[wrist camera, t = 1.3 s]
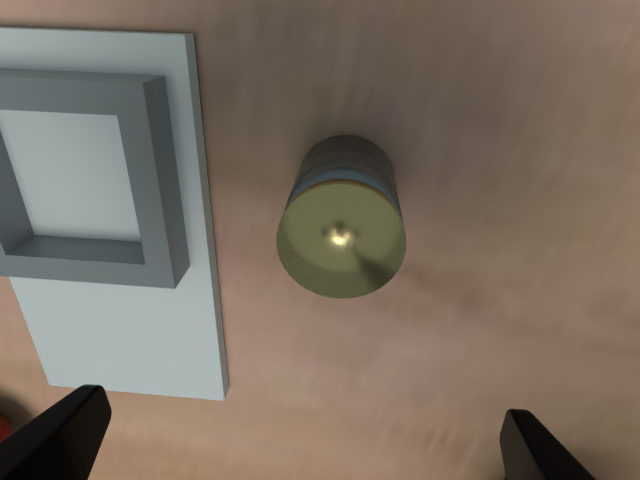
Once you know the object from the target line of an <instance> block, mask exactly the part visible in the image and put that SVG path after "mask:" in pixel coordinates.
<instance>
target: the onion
mask: <svg viewBox="0 0 640 480" xmlns="http://www.w3.org/2000/svg"><path fill="white" fill-rule="evenodd" d="M11 434H12V430H11V423H10V421H9V420H8V418H7V417H5V416H2V415H0V442H1V441H2V440H4V439H5V438H7V437H8V436H10V435H11Z"/></svg>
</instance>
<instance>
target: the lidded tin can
mask: <svg viewBox="0 0 640 480" xmlns="http://www.w3.org/2000/svg"><path fill="white" fill-rule="evenodd" d="M276 242H277V250H278V254H279V257H280V260H281V262H282V264H283V266H284V268H285V269H286V271H287V272H288V273H289V275H290V276H291V277H292V278H293V279H294V280H295V281H296V282H297V283H299V284H300V285H301V286H303V287H304V288H306V289H308V290H310V291H312V292H314V293H316V294H319V295H322V296H326V297H331V298H354V297H359V296H363V295H366V294H369V293H371V292H373V291H376V290H377V289H379V288H381V287H382V286H384V285H385V284H386V283H387V282H388V281H389V280H390V279H391V278H392V277H393V276H394V275H395V274H396V272H397V271H398V269H399V268H400V266H401V264H402V261H403V259H404V255H405V251H406V235H405V230H404V225H403V219H402V214H401V209H400V204H399V199H398V194H397V189H396V183H395V178H394V173H393V169H392V166H391V163H390V161H389V159H388V157H387V156H386V155H385V153H384V152H383V151H382V150H381V149H380V148H379V147H378V146H377V145H375V144H374V143H372V142H371V141H369V140H367V139H364V138H362V137H358V136H352V135H340V136H335V137H331V138H328V139H326V140H324V141H322V142H320V143H319V144H317V145H316V146H315V147H313V148H312V149H311V150H310V151H309V153H308V154H307V155H306V157H305V158H304V160H303V162H302V165H301V167H300V170H299V173H298V175H297V178H296V181H295V183H294V186H293V189H292V191H291V194H290V197H289V200H288V202H287V205H286V208H285V210H284V213H283V216H282V218H281V221H280V224H279V226H278V231H277V241H276Z"/></svg>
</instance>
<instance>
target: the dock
mask: <svg viewBox="0 0 640 480" xmlns="http://www.w3.org/2000/svg"><path fill="white" fill-rule="evenodd" d="M0 276H7V277H9V278H10V281H11V283H12V286H13V289H14V291H15V294H16V297H17V299H18V302H19V305H20V307H21V310H22V313H23V315H24V318H25V321H26V323H27V326H28V329H29V331H30V334H31V337H32V339H33V342H34V345H35V347H36V350H37V353H38V355H39V358H40V361H41V363H42V366H43V369H44V371H45V374H46V377H47V379H48V382H49V385H53V386H64V387H75V388H79V387H80V386H82V385H85V384H92V385H101V386H102V387H103V388H104V389H105V390H109V391H121V392H132V393H143V394H154V395H166V396H177V397H188V398H199V399H211V400H222V401H224V400H225V398H226V395H227V392H228V389H229V384H228V374H227V364H226V354H225V344H224V334H223V324H222V314H221V304H220V294H219V284H218V274H217V264H216V254H215V244H214V234H213V224H212V214H211V204H210V194H209V184H208V174H207V164H206V154H205V144H204V134H203V124H202V114H201V104H200V94H199V84H198V74H197V64H196V54H195V44H194V34H189V33H163V32H137V31H110V30H84V29H57V28H31V27H4V26H0Z"/></svg>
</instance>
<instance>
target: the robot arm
mask: <svg viewBox="0 0 640 480" xmlns="http://www.w3.org/2000/svg"><path fill="white" fill-rule="evenodd" d="M111 413H112V412H111V407H110V404H109V401H108V398H107V395H106V392H105V389H104V388H103V387H102V386H101V385H92V384H85V385H82V386H80V387H79V388H77V389H76V390H74V391H73V392H71V393H70V394H69V395H67V396H66V397H64V398H63V399H61V400H60V401H58V402H57V403H56V404H54V405H53V406H51V407H50V408H48V409H47V410H46V411H44V412H43V413H41V414H40V415H38V416H37V417H35V418H34V419H33V420H31V421H30V422H28V423H27V424H25V425H24V426H23V427H21V428H20V429H18V430H17V431H15V432H14V433H12V434H11V435H10V436H8V437H7V438H5V439H4V440H2V441H1V442H0V480H88V477H89V475H90V472H91V469H92V467H93V464H94V462H95V459H96V456H97V454H98V451H99V448H100V446H101V443H102V441H103V438H104V435H105V433H106V430H107V428H108V425H109V422H110V419H111ZM500 446H501V452H502V457H503V462H504V467H505V473H506V478H507V479H506V480H596V479H595V478H594V477H593V476H592V475H591V474H590V473H589V472H588V471H587V470H586V469H585V468H584V467H583V466H582V465H581V464H580V463H579V462H578V461H577V459H576V458H575V457H574V456H573V455H572V454H571V453H570V452H569V451H568V450H567V449H566V448H565V447H564V446H563V445H562V444H561V443H560V442H559V441H558V440H557V439H556V438H555V437H554V436H553V435H552V434H551V433H550V432H549V431H548V430H547V428H546V427H545V426H544V425H543V424H542V423H541V422H540V421H539V420H538V419H537V418H536V417H535V416H534V415H533V414H532V413H531V412H529V411H528V410H524V409H509V410H508V411H507V412H506V415H505V418H504V422H503V425H502V429H501V432H500Z"/></svg>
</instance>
